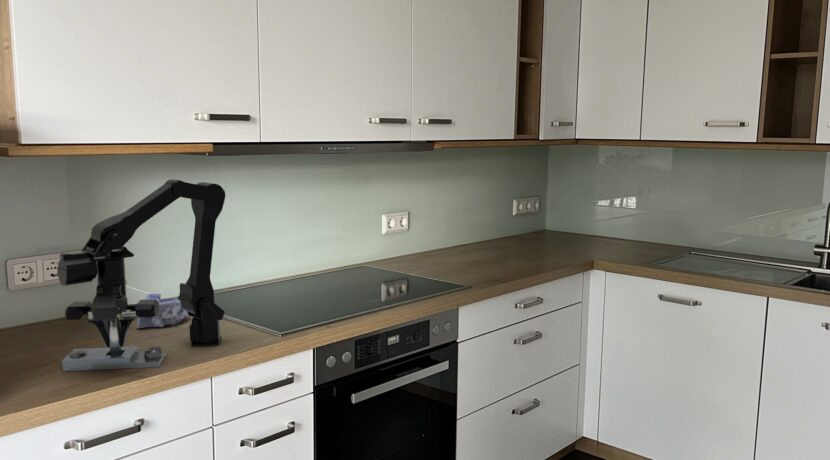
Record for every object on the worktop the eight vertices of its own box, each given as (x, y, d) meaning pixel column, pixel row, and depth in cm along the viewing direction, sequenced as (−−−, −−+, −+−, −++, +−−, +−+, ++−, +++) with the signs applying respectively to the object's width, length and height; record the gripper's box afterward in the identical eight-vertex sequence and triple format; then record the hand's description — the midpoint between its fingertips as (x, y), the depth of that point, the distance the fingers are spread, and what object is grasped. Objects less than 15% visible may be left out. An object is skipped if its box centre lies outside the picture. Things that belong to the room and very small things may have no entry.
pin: (123, 353, 159) (120, 314, 157) (120, 356, 156) (118, 317, 155) (111, 353, 158) (109, 315, 157) (108, 357, 156) (106, 318, 155)
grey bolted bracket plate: (165, 355, 163) (165, 343, 163) (158, 367, 155) (158, 354, 155) (74, 359, 160) (74, 347, 160) (62, 371, 152) (62, 358, 152)
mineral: (141, 298, 180) (134, 288, 188) (138, 334, 181) (131, 322, 189) (198, 297, 188) (188, 288, 196) (194, 331, 189) (185, 320, 197)
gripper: (53, 288, 145) (58, 360, 148) (147, 285, 148) (150, 356, 151) (71, 276, 156) (75, 344, 159) (158, 274, 159) (161, 340, 161)
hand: (115, 346), depth 157 cm, fingers closed on pin, 2 cm apart
